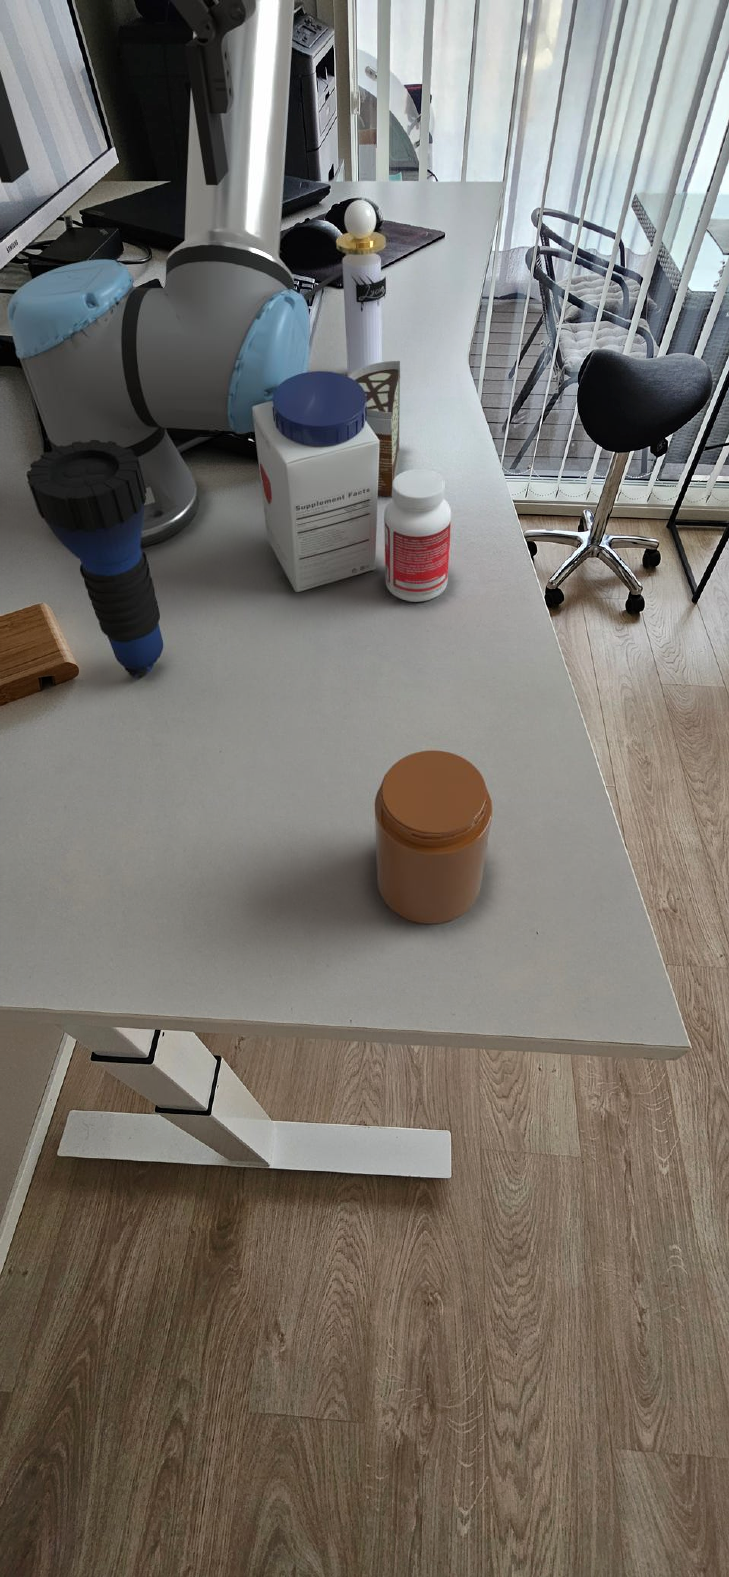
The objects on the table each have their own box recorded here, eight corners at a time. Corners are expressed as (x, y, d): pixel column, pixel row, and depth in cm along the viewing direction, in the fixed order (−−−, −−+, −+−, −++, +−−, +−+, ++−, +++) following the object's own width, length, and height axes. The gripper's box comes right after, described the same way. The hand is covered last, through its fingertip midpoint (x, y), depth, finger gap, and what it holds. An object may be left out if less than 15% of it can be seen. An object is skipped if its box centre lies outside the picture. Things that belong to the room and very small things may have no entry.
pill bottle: (460, 589, 80) (467, 487, 71) (409, 612, 78) (410, 510, 69) (422, 557, 83) (425, 456, 74) (373, 579, 81) (370, 478, 72)
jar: (380, 833, 62) (377, 742, 54) (480, 837, 62) (493, 746, 53) (374, 921, 58) (370, 836, 49) (481, 926, 57) (496, 842, 49)
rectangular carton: (264, 537, 85) (248, 403, 72) (344, 515, 86) (342, 381, 74) (294, 595, 80) (283, 463, 67) (377, 571, 82) (382, 438, 69)
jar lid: (304, 381, 74) (303, 361, 72) (382, 408, 72) (383, 387, 70) (256, 428, 70) (253, 408, 68) (337, 457, 68) (337, 437, 66)
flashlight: (197, 638, 77) (145, 436, 61) (187, 699, 72) (129, 495, 56) (112, 641, 77) (39, 440, 61) (97, 702, 72) (13, 500, 56)
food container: (348, 444, 97) (344, 357, 89) (400, 445, 97) (400, 358, 89) (336, 502, 90) (330, 414, 82) (391, 504, 89) (391, 415, 81)
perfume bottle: (335, 379, 107) (324, 199, 92) (371, 366, 109) (367, 188, 93) (358, 396, 104) (351, 213, 89) (395, 383, 106) (395, 201, 90)
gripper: (279, -422, 36) (316, 160, 53) (-227, -383, 39) (-40, 157, 56) (238, -445, 32) (293, 200, 48) (-330, -399, 35) (-93, 194, 51)
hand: (115, 178), depth 52 cm, fingers open, 13 cm apart
